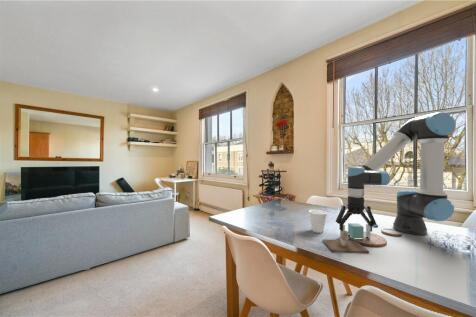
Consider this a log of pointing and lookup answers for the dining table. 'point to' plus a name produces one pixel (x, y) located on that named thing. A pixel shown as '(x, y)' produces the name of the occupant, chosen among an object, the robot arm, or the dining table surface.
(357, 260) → the dining table surface
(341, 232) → the dark wooden tray
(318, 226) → the cup
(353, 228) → the teal block
